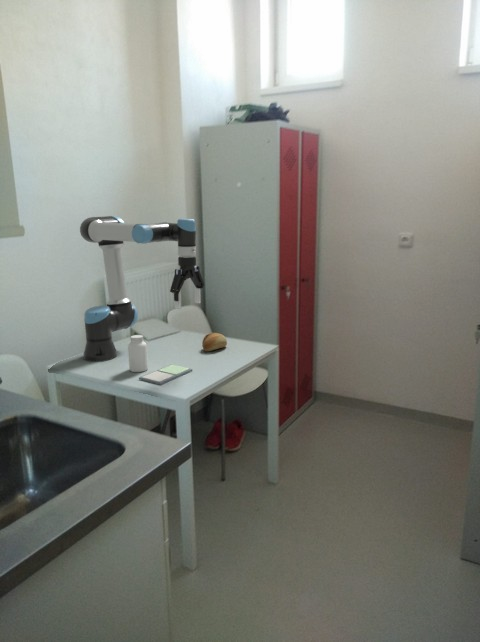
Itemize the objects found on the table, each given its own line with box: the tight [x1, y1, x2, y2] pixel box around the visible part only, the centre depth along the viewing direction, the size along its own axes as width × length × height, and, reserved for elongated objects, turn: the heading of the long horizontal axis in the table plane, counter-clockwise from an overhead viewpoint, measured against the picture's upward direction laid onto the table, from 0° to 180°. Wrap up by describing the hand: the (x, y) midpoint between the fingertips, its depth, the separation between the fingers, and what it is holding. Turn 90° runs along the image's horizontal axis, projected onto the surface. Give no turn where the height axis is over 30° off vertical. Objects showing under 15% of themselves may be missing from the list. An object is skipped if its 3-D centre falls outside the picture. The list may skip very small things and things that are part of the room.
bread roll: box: [201, 332, 228, 352], centre depth 249 cm, size 10×15×8 cm, turn 143°
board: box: [138, 364, 193, 386], centre depth 213 cm, size 12×20×1 cm, turn 146°
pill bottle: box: [127, 334, 149, 373], centre depth 219 cm, size 8×8×15 cm
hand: (188, 305), depth 218 cm, fingers open, 13 cm apart
